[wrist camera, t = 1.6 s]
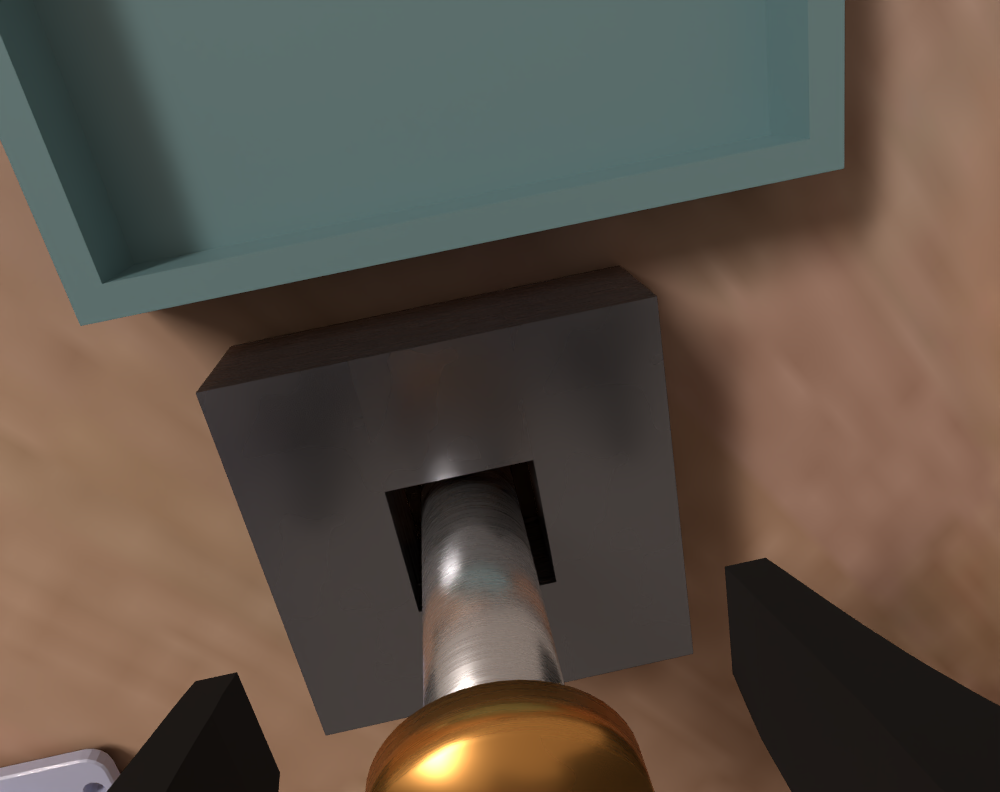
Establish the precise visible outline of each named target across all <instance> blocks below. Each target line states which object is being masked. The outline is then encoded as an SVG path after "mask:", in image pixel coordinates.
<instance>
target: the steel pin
mask: <svg viewBox="0 0 1000 792" xmlns="http://www.w3.org/2000/svg"><path fill="white" fill-rule="evenodd" d="M421 526H422V625H423V707H422V708H421V709H419V710H418V711H416V712H415V713H413V714H412V715H410V716H409V717H408V718H407V719H406V720H405V721H403V722H402V723H401V724H400V725H399V726H398V727H397V728H396V729H395V730H394V731H393V732H392V733H391V734H390V735H389V736H388V738H387V739H386V740H385V741H384V743H383V744H382V746H381V747H380V749H379V750H378V752H377V754H376V756H375V758H374V760H373V762H372V764H371V766H370V770H369V773H368V777H367V781H366V791H365V792H654V789H653V786H652V783H651V780H650V777H649V774H648V771H647V769H646V766H645V763H644V760H643V757H642V754H641V751H640V748H639V745H638V743H637V741H636V738H635V736H634V734H633V732H632V731H631V729H630V728H629V726H628V725H627V723H626V722H625V721H624V720H623V719H622V718H621V716H620V715H619V714H618V713H617V712H616V711H615V710H613V709H612V708H611V707H609V706H608V705H607V704H605V703H604V702H603V701H601V700H599V699H597V698H596V697H594V696H592V695H590V694H588V693H586V692H583V691H581V690H578V689H576V688H573V687H569V686H565V684H564V680H563V677H562V673H561V669H560V665H559V661H558V657H557V653H556V649H555V645H554V641H553V637H552V633H551V629H550V625H549V621H548V617H547V613H546V609H545V605H544V601H543V597H542V593H541V589H540V585H539V581H538V577H537V573H536V569H535V565H534V561H533V557H532V553H531V549H530V545H529V541H528V537H527V533H526V529H525V525H524V521H523V517H522V513H521V509H520V505H519V501H518V497H517V493H516V489H515V485H514V481H513V477H512V473H511V469H510V465H508V466H503V467H498V468H494V469H489V470H484V471H480V472H475V473H470V474H466V475H461V476H457V477H452V478H447V479H443V480H438V481H433V482H429V483H424V484H421Z"/></svg>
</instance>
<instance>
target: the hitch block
mask: <svg viewBox="0 0 1000 792" xmlns="http://www.w3.org/2000/svg"><path fill="white" fill-rule="evenodd" d="M196 395H197V398H198V400H199V403H200V406H201V408H202V411H203V414H204V416H205V419H206V421H207V424H208V427H209V429H210V432H211V435H212V437H213V440H214V443H215V445H216V448H217V450H218V453H219V456H220V458H221V461H222V464H223V466H224V469H225V472H226V474H227V477H228V479H229V482H230V485H231V487H232V490H233V493H234V495H235V498H236V500H237V503H238V506H239V508H240V511H241V514H242V516H243V519H244V522H245V524H246V527H247V529H248V532H249V535H250V537H251V540H252V543H253V545H254V548H255V551H256V553H257V556H258V558H259V561H260V564H261V566H262V569H263V572H264V574H265V577H266V580H267V582H268V585H269V587H270V590H271V593H272V595H273V598H274V601H275V603H276V606H277V609H278V611H279V614H280V616H281V619H282V622H283V624H284V627H285V630H286V632H287V635H288V638H289V640H290V643H291V645H292V648H293V651H294V653H295V656H296V659H297V661H298V664H299V666H300V669H301V672H302V674H303V677H304V680H305V682H306V685H307V688H308V690H309V693H310V695H311V698H312V701H313V703H314V706H315V709H316V711H317V714H318V717H319V719H320V722H321V724H322V727H323V730H324V732H325V735H330V734H335V733H339V732H344V731H348V730H353V729H357V728H362V727H366V726H371V725H375V724H380V723H384V722H389V721H393V720H398V719H402V718H407V717H409V716H410V715H412V714H413V713H415V712H416V711H418V710H419V709H421V708H422V707H423V625H422V541H418V538H417V534H416V530H415V527H414V523H413V519H412V516H411V512H410V508H409V505H408V501H407V497H406V494H405V490H404V488H405V487H410V486H415V485H419V484H424V483H429V482H433V481H438V480H443V479H447V478H452V477H457V476H461V475H466V474H470V473H475V472H480V471H484V470H489V469H494V468H498V467H503V466H508V465H512V464H517V463H522V462H526V461H527V464H528V469H529V474H530V479H531V484H532V490H533V495H534V500H535V505H536V510H537V516H535V517H530V518H525V519H523V521H524V525H525V529H526V533H527V537H528V541H529V545H530V549H531V553H532V557H533V561H534V565H535V569H536V573H537V577H538V581H539V585H540V589H541V593H542V597H543V601H544V605H545V609H546V613H547V617H548V621H549V625H550V629H551V633H552V637H553V641H554V645H555V649H556V653H557V657H558V661H559V665H560V669H561V673H562V677H563V680H564V682H568V681H573V680H577V679H582V678H586V677H591V676H595V675H600V674H604V673H609V672H613V671H618V670H622V669H627V668H631V667H635V666H640V665H644V664H649V663H653V662H658V661H662V660H667V659H671V658H676V657H680V656H685V655H689V654H693V646H692V636H691V626H690V616H689V606H688V596H687V587H686V577H685V567H684V557H683V547H682V537H681V528H680V518H679V508H678V498H677V488H676V478H675V469H674V459H673V449H672V439H671V429H670V420H669V410H668V400H667V390H666V380H665V370H664V361H663V351H662V341H661V331H660V321H659V311H658V302H657V296H656V295H655V294H653V293H652V292H651V291H650V290H649V289H647V288H646V287H645V286H644V285H643V284H641V283H640V282H639V281H638V280H637V279H635V278H634V277H633V276H632V275H631V274H629V273H628V272H627V271H626V270H625V269H623V268H622V267H621V266H615V267H610V268H606V269H601V270H596V271H591V272H586V273H582V274H577V275H572V276H567V277H562V278H558V279H553V280H548V281H543V282H538V283H534V284H529V285H524V286H519V287H514V288H510V289H505V290H500V291H495V292H490V293H486V294H481V295H476V296H471V297H466V298H461V299H457V300H452V301H447V302H442V303H437V304H433V305H428V306H423V307H418V308H413V309H409V310H404V311H399V312H394V313H389V314H385V315H380V316H375V317H370V318H365V319H361V320H356V321H351V322H346V323H341V324H337V325H332V326H327V327H322V328H317V329H312V330H308V331H303V332H298V333H293V334H288V335H284V336H279V337H274V338H269V339H264V340H260V341H255V342H250V343H245V344H240V345H236V346H231V347H230V348H229V349H228V351H227V352H226V353H225V355H224V356H223V357H222V359H221V360H220V361H219V363H218V364H217V365H216V367H215V368H214V369H213V371H212V372H211V373H210V375H209V376H208V377H207V379H206V380H205V381H204V383H203V384H202V385H201V387H200V388H199V389H198V391H197V392H196Z"/></svg>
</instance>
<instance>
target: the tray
mask: <svg viewBox="0 0 1000 792" xmlns="http://www.w3.org/2000/svg"><path fill="white" fill-rule="evenodd" d="M844 69H845V0H0V140H1V142H2V145H3V147H4V149H5V152H6V154H7V156H8V159H9V161H10V163H11V165H12V168H13V170H14V172H15V175H16V177H17V179H18V182H19V184H20V186H21V189H22V191H23V193H24V196H25V198H26V200H27V203H28V205H29V207H30V210H31V212H32V214H33V217H34V219H35V221H36V224H37V226H38V228H39V231H40V233H41V235H42V238H43V240H44V242H45V244H46V247H47V249H48V251H49V254H50V256H51V258H52V261H53V263H54V265H55V268H56V270H57V272H58V275H59V277H60V279H61V282H62V284H63V286H64V289H65V291H66V293H67V296H68V298H69V300H70V303H71V305H72V307H73V310H74V312H75V314H76V317H77V319H78V321H79V323H80V326H83V325H87V324H92V323H97V322H102V321H107V320H112V319H116V318H121V317H126V316H131V315H136V314H141V313H146V312H150V311H155V310H160V309H165V308H170V307H175V306H180V305H184V304H189V303H194V302H199V301H204V300H209V299H213V298H218V297H223V296H228V295H233V294H238V293H243V292H247V291H252V290H257V289H262V288H267V287H272V286H277V285H281V284H286V283H291V282H296V281H301V280H306V279H310V278H315V277H320V276H325V275H330V274H335V273H340V272H344V271H349V270H354V269H359V268H364V267H369V266H373V265H378V264H383V263H388V262H393V261H398V260H403V259H407V258H412V257H417V256H422V255H427V254H432V253H437V252H441V251H446V250H451V249H456V248H461V247H466V246H470V245H475V244H480V243H485V242H490V241H495V240H500V239H504V238H509V237H514V236H519V235H524V234H529V233H534V232H538V231H543V230H548V229H553V228H558V227H563V226H567V225H572V224H577V223H582V222H587V221H592V220H597V219H601V218H606V217H611V216H616V215H621V214H626V213H631V212H635V211H640V210H645V209H650V208H655V207H660V206H664V205H669V204H674V203H679V202H684V201H689V200H694V199H698V198H703V197H708V196H713V195H718V194H723V193H728V192H732V191H737V190H742V189H747V188H752V187H757V186H761V185H766V184H771V183H776V182H781V181H786V180H791V179H795V178H800V177H805V176H810V175H815V174H820V173H825V172H829V171H834V170H839V169H844Z"/></svg>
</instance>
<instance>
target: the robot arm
mask: <svg viewBox="0 0 1000 792" xmlns="http://www.w3.org/2000/svg"><path fill="white" fill-rule="evenodd" d="M725 576H726V589H727V603H728V616H729V630H730V643H731V657H732V670H733V675H734V677H735V680H736V682H737V684H738V687H739V689H740V691H741V694H742V696H743V698H744V701H745V703H746V705H747V708H748V710H749V712H750V714H751V717H752V719H753V721H754V723H755V726H756V728H757V730H758V732H759V734H760V737H761V739H762V741H763V743H764V744H765V746H766V748H767V750H768V751H769V753H770V755H771V757H772V759H773V760H774V762H775V764H776V765H777V767H778V769H779V771H780V772H781V774H782V776H783V778H784V779H785V781H786V783H787V785H788V786H789V788H790V790H791V792H1000V706H999V705H997V704H995V703H993V702H991V701H989V700H988V699H986V698H984V697H982V696H980V695H978V694H977V693H975V692H973V691H971V690H969V689H968V688H966V687H964V686H963V685H961V684H959V683H957V682H956V681H954V680H952V679H950V678H949V677H947V676H945V675H943V674H942V673H940V672H938V671H937V670H935V669H933V668H931V667H930V666H928V665H926V664H924V663H923V662H921V661H920V660H918V659H916V658H915V657H913V656H911V655H910V654H908V653H906V652H905V651H903V650H902V649H900V648H899V647H897V646H895V645H894V644H892V643H891V642H889V641H888V640H886V639H885V638H883V637H881V636H880V635H878V634H877V633H875V632H874V631H872V630H871V629H869V628H867V627H866V626H864V625H863V624H861V623H860V622H858V621H857V620H855V619H854V618H852V617H851V616H849V615H848V614H846V613H845V612H843V611H842V610H841V609H839V608H838V607H836V606H835V605H833V604H832V603H830V602H829V601H827V600H826V599H824V598H823V597H822V596H820V595H819V594H817V593H816V592H814V591H813V590H811V589H810V588H809V587H807V586H806V585H804V584H803V583H801V582H800V581H799V580H797V579H796V578H794V577H793V576H791V575H790V574H788V573H787V572H786V571H784V570H783V569H781V568H780V567H778V566H777V565H775V564H774V563H772V562H771V561H769V560H768V559H767V558H763V559H758V560H753V561H749V562H744V563H740V564H735V565H730V566H726V567H725ZM279 777H280V772H279V770H278V767H277V765H276V763H275V760H274V758H273V755H272V753H271V751H270V748H269V746H268V744H267V741H266V739H265V737H264V734H263V732H262V730H261V727H260V725H259V723H258V720H257V718H256V716H255V713H254V711H253V709H252V706H251V704H250V702H249V699H248V697H247V695H246V692H245V690H244V688H243V685H242V683H241V681H240V678H239V676H238V674H237V672H236V673H232V674H227V675H222V676H218V677H213V678H209V679H204V680H199V681H195V682H194V683H193V685H192V686H191V687H190V688H189V689H188V691H187V692H186V693H185V694H184V695H183V696H182V698H181V699H180V700H179V701H178V703H177V704H176V705H175V706H174V708H173V709H172V710H171V711H170V713H169V714H168V715H167V716H166V718H165V719H164V720H163V721H162V723H161V724H160V725H159V726H158V728H157V729H156V730H155V732H154V733H153V734H152V735H151V737H150V738H149V739H148V740H147V742H146V743H145V744H144V745H143V747H142V748H141V749H140V751H139V752H138V753H137V754H136V756H135V757H134V758H133V759H132V761H131V762H130V763H129V764H128V766H127V767H126V768H125V769H124V771H123V772H122V773H121V774H120V772H119V770H118V769H117V767H116V765H115V763H114V761H113V759H112V758H111V757H110V756H109V755H108V754H107V753H105V752H103V751H101V750H98V749H84V750H79V751H75V752H70V753H66V754H61V755H57V756H52V757H48V758H43V759H39V760H34V761H30V762H25V763H20V764H16V765H11V766H7V767H2V768H0V792H278V790H279ZM97 783H99V784H97Z"/></svg>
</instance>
